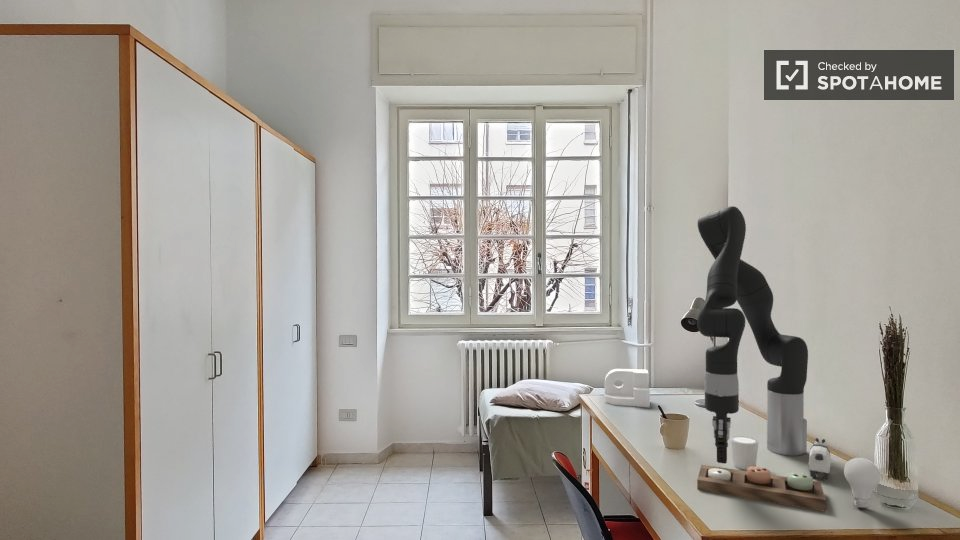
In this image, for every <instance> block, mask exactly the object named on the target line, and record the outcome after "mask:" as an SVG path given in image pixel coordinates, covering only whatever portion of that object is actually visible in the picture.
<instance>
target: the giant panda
mask: <svg viewBox="0 0 960 540" xmlns="http://www.w3.org/2000/svg"><path fill="white" fill-rule="evenodd" d="M808 456H809V458H808V470H809V475H810V476H811V477H812V478H813V479H816V478H817V473H816V472H819V473H822V480H823V481H829V475H830V470H831V451H830V449H829V446H828V445H827V442H826V439H824V438H823V439H819V438H818V437H816V438H815V439H814V442H813V444H812V445H811V447H810V449H809V455H808Z"/></svg>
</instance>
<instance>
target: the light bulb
mask: <svg viewBox="0 0 960 540" xmlns="http://www.w3.org/2000/svg"><path fill="white" fill-rule="evenodd" d="M843 474H844V477H845V479H846V481H847V482H848V484H849V485H850V488H851V491H852V493H851V494H852V496H853V497H854V498H853V505H854V506H856V507H857V508H859V509H862V510H865V509H868V508H870V506H871V505H870V502H871V498H872V494H873V491H874V490H875V489H876V487H877V486H878V485H879V484H880V482H881V471H880V469H879V467H878V466H877V465H876V464H875V463H874V462H872V460H870V459H867V458H865V457H853V458H851V459H848V461H847V462H846V463H845V465H844V468H843Z"/></svg>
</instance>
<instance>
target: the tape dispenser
mask: <svg viewBox="0 0 960 540" xmlns="http://www.w3.org/2000/svg"><path fill="white" fill-rule="evenodd" d="M649 380H650V374H649V371H648V369H640V368H638V369H637V368H613V369H611V370H609V372H608V373H606V375H605V377H604V402H605V403H606V404H610V405H614V406H623V407H636V406H637V407H639V408H650V404H651V402H650V400H651V399H650V397H651V395H650V387H649V386H650V383H649V382H650V381H649ZM616 381H621V382H622V385H621V386H617V385H615V382H616ZM637 407H636V408H637Z"/></svg>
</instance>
